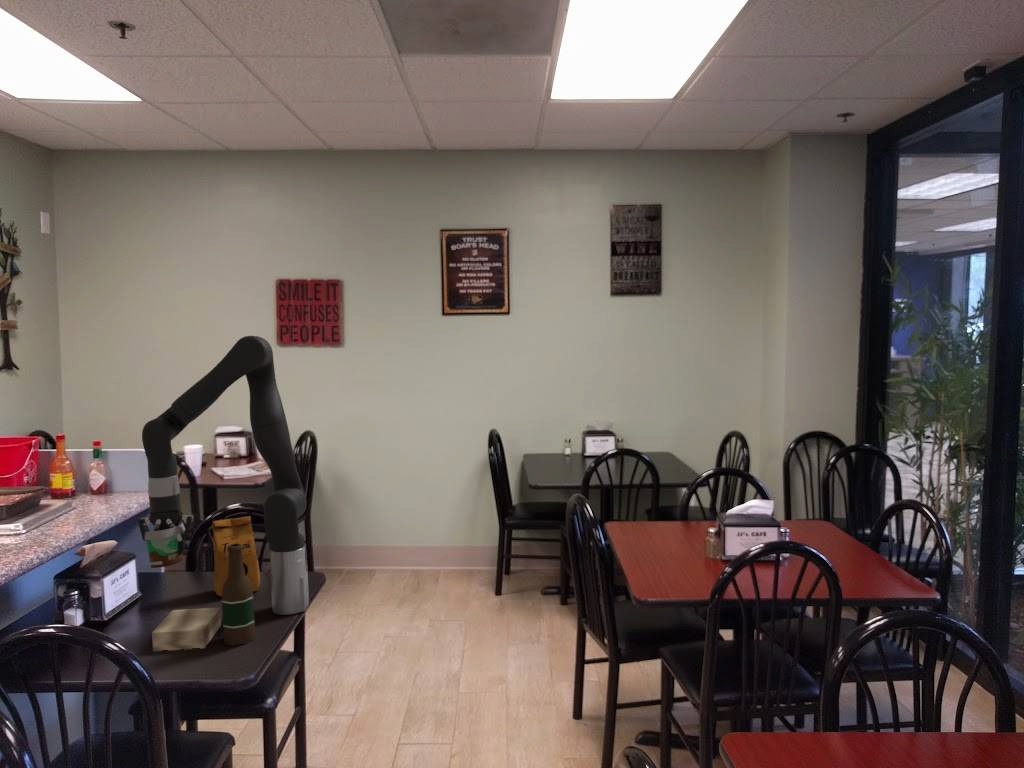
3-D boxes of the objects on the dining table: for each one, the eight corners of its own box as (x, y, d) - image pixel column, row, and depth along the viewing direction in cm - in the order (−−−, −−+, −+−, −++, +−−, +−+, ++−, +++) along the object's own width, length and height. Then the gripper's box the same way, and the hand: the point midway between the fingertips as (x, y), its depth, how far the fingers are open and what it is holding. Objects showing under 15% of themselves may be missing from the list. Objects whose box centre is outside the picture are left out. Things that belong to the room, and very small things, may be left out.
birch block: (221, 625, 193) (220, 607, 193) (204, 649, 179) (203, 629, 179) (173, 628, 192) (172, 610, 192) (153, 652, 178) (151, 632, 178)
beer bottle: (230, 632, 188) (225, 540, 186) (261, 632, 188) (256, 540, 185) (217, 646, 180) (212, 550, 178) (249, 646, 180) (244, 549, 178)
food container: (168, 570, 192) (164, 532, 191) (147, 569, 193) (143, 532, 192) (197, 554, 204) (194, 519, 203) (177, 554, 205) (174, 519, 204)
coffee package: (261, 593, 215) (257, 519, 213) (215, 601, 210) (211, 525, 208) (258, 582, 224) (254, 511, 222) (214, 589, 219) (209, 516, 217)
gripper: (196, 487, 201) (201, 548, 202) (141, 490, 199) (146, 552, 201) (187, 494, 194) (192, 557, 195) (130, 497, 192) (135, 560, 194)
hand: (168, 554), depth 198 cm, fingers closed on food container, 5 cm apart
